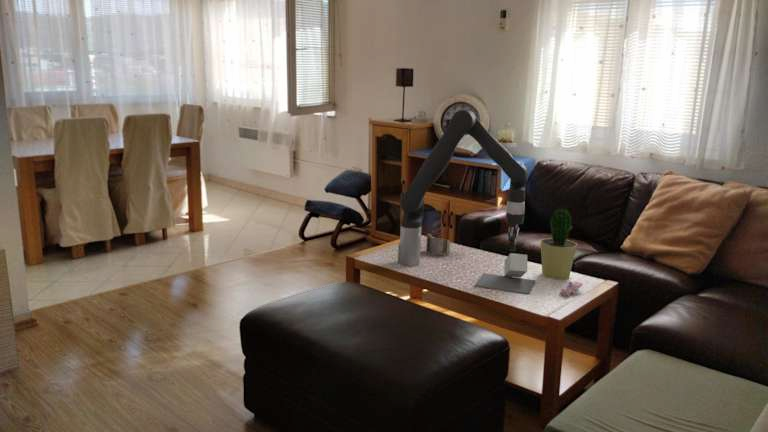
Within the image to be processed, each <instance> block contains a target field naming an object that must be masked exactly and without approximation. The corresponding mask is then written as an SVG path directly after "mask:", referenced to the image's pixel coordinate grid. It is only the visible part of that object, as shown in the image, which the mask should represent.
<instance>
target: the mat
mask: <svg viewBox="0 0 768 432" xmlns="http://www.w3.org/2000/svg"><path fill="white" fill-rule="evenodd" d="M535 283H536V280H535V279H528V278H523V277H508V276H504V275H500V274H493V273H487V272H486V273H485V272H483V273H482V274H481V276H480V277H479V278H478V280H477V281H476V282H475V284H474V286H473V287H474V288H479V289H480V288H481V289H486V290H487V289H488V290H495V291H501V292H502V291H503V292H506V293H507V292H508V293H515V294H522V295H530V294H531V292H532V289H533V288H534V285H535Z"/></svg>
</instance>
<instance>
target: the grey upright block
mask: <svg viewBox="0 0 768 432" xmlns="http://www.w3.org/2000/svg"><path fill="white" fill-rule="evenodd" d="M426 235H427V237H426V250H425V251H426V253H428V252H430V253H431V254H434V253H435V255H440V256H444V257H448V256H450V253H451V252H450V251H451V240H450V239H445V238H439V237H434V236H433V234H431V233H427V234H426Z"/></svg>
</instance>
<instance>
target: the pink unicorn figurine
mask: <svg viewBox="0 0 768 432" xmlns="http://www.w3.org/2000/svg"><path fill="white" fill-rule="evenodd" d="M583 284H584V283H583V282H579V281H573V282H572V281H568V284H567V285H566V288H561V289H560V292H559V293H558V296H559V297H560V296H562V297H564V298H565V299H567V298H569V297H570V296H571V295H572V294H573V295H574V294H576V293H578V292H579V289H580V288H581V287H582V286H583Z"/></svg>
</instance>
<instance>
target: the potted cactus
mask: <svg viewBox="0 0 768 432" xmlns="http://www.w3.org/2000/svg"><path fill="white" fill-rule="evenodd" d="M553 213H554V214H553V215H552V217H551V219H550V222H549V226H550V228H551V229H550V234H551V236H552V237H549V238H542V239H540V241H539V242H540V254H541V255H540V256H541V271H542V272H541V273H542V276H543V277H545V278H548V279H552V280H560V281H561V280H567V279H569V278H570V275H571V271H572V267H573V264H574V259H575V257H576V252H577V248H578V243H576V242H575V241H572V240H569V239H568V237H569V234H570V231H571V230H573V227H572V217H571V215H570V213H571V212H570V211H568V209H567V210H565V209H562V208H560V209H559V208H556V211H554V212H553Z"/></svg>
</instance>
